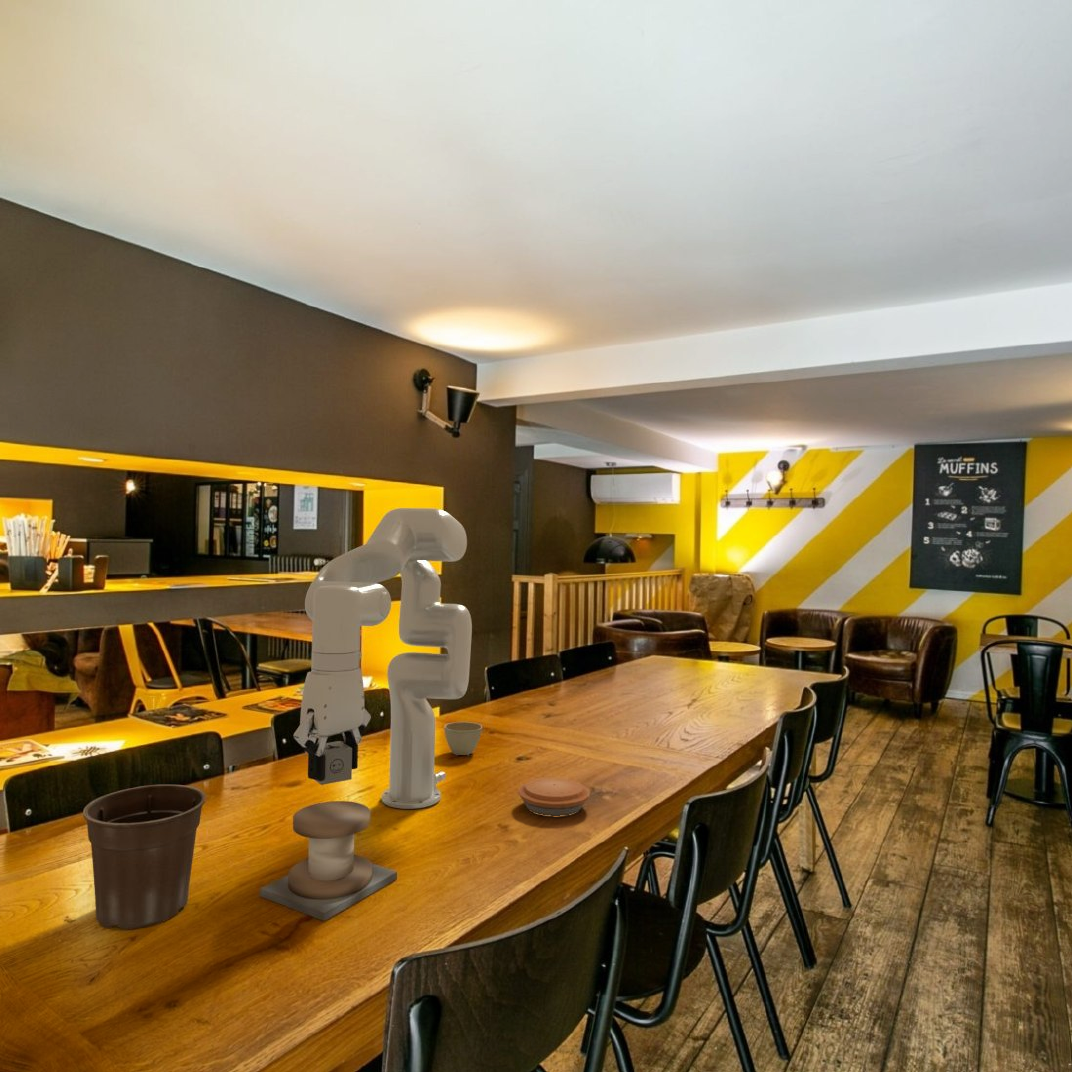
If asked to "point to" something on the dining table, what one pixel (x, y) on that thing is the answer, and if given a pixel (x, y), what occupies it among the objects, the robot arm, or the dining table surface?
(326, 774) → the dice cube
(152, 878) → the plant pot
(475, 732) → the flower pot
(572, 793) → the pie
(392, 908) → the dining table surface
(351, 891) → the bobbin
